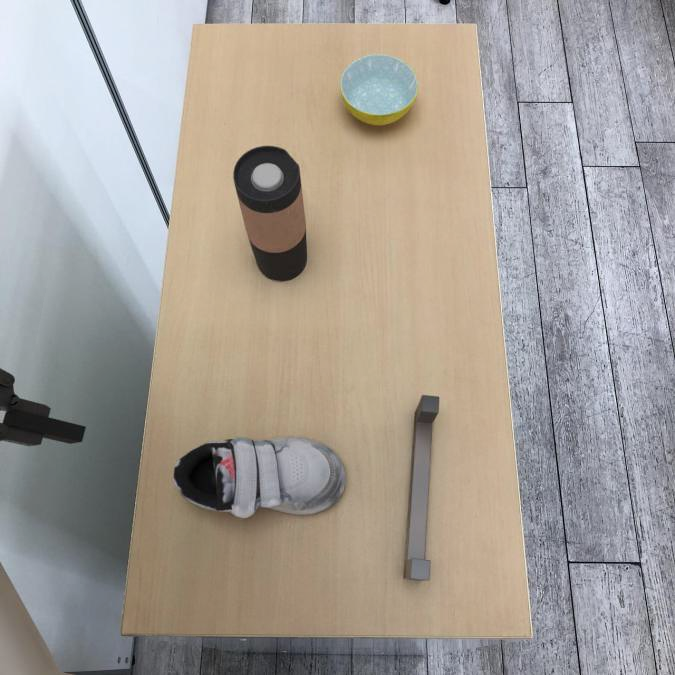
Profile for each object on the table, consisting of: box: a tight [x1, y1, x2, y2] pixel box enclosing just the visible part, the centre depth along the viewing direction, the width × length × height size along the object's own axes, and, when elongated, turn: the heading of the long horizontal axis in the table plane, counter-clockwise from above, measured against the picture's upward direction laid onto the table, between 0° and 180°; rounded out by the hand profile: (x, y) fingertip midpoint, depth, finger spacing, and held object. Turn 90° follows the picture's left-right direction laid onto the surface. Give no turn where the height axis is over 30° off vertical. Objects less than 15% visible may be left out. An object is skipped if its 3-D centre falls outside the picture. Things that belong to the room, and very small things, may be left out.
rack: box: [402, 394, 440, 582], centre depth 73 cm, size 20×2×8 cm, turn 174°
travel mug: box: [232, 145, 308, 282], centre depth 79 cm, size 8×8×20 cm
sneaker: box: [172, 435, 346, 519], centre depth 73 cm, size 10×20×10 cm, turn 90°
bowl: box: [339, 53, 419, 126], centre depth 95 cm, size 11×12×6 cm
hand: (77, 435), depth 61 cm, fingers closed
